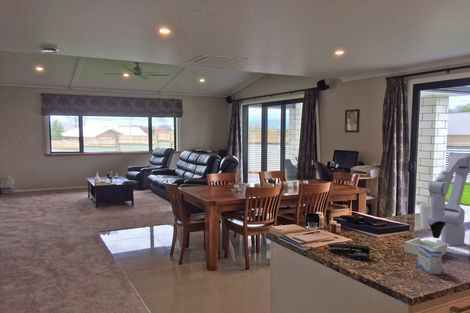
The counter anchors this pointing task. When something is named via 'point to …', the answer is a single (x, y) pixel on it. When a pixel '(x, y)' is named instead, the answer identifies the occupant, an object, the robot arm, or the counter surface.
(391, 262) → the counter surface
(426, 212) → the foam cup
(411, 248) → the white open tray
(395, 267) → the counter surface
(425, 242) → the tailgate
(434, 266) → the medicine box
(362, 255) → the can opener
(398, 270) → the counter surface
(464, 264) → the counter surface
